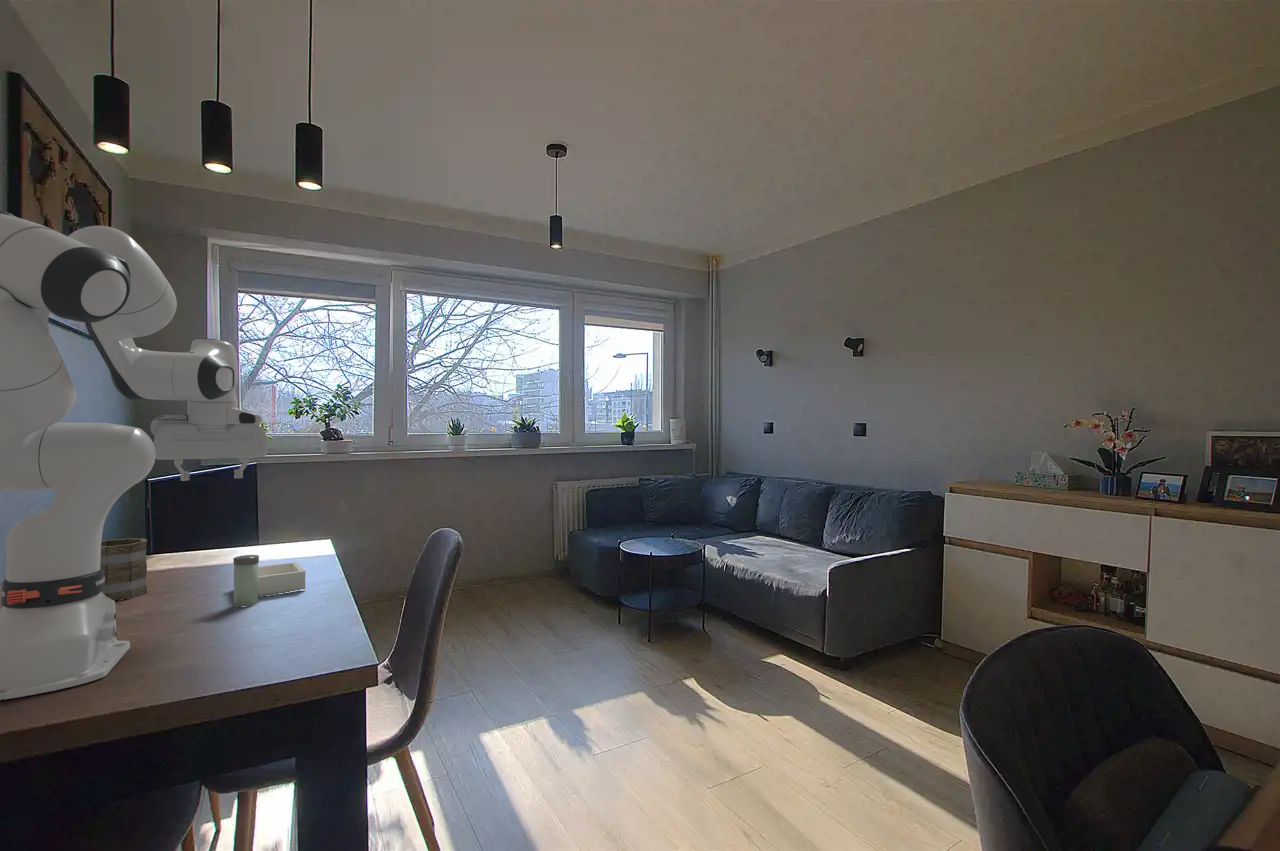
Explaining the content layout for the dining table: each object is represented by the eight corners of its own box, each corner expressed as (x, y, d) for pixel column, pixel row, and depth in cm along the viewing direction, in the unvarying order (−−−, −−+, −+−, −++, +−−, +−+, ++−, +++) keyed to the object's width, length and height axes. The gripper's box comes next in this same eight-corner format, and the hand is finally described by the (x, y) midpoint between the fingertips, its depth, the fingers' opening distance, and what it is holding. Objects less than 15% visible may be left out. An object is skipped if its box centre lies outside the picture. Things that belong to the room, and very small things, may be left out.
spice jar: (259, 605, 130) (260, 557, 130) (234, 609, 127) (234, 560, 127) (257, 600, 133) (257, 553, 133) (232, 603, 130) (232, 556, 130)
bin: (305, 591, 141) (305, 571, 141) (243, 600, 133) (244, 579, 133) (296, 580, 150) (296, 561, 150) (238, 588, 142) (238, 568, 142)
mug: (158, 592, 138) (159, 540, 138) (100, 605, 129) (101, 549, 129) (121, 584, 145) (121, 534, 145) (63, 596, 135) (63, 542, 135)
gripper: (151, 415, 121) (150, 484, 122) (269, 416, 134) (268, 478, 135) (150, 413, 126) (150, 479, 126) (265, 415, 139) (264, 475, 139)
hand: (212, 479), depth 131 cm, fingers open, 8 cm apart
